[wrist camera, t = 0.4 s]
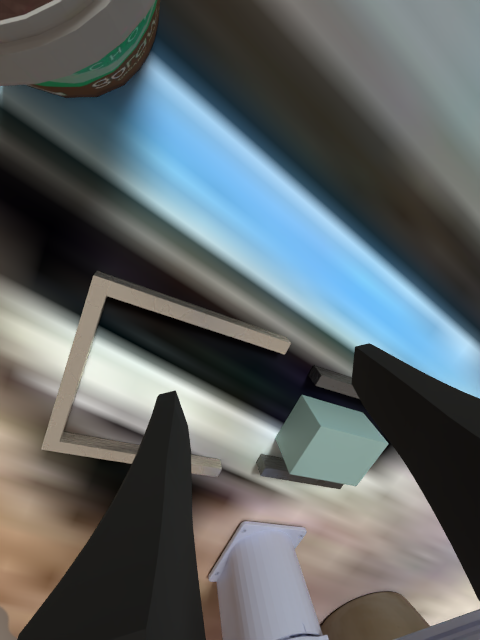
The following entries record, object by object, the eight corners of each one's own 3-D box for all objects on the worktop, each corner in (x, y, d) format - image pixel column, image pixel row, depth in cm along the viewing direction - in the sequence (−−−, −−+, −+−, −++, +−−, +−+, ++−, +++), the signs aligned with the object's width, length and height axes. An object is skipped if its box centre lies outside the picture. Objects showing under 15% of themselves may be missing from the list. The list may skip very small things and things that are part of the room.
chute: (325, 486, 32) (332, 499, 31) (46, 439, 23) (38, 454, 22) (402, 377, 28) (413, 387, 26) (97, 270, 19) (91, 277, 18)
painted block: (334, 450, 30) (356, 486, 27) (274, 436, 28) (289, 473, 24) (361, 411, 29) (388, 443, 25) (300, 393, 27) (320, 426, 23)
